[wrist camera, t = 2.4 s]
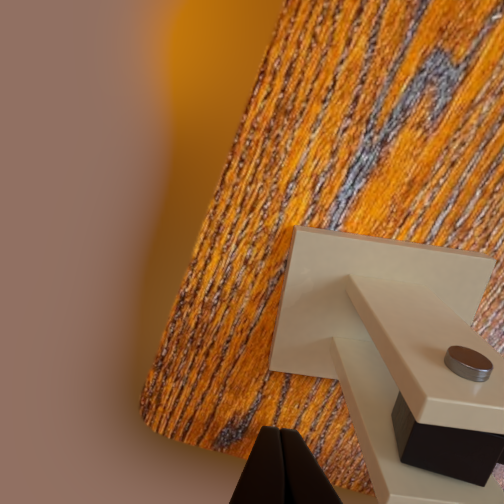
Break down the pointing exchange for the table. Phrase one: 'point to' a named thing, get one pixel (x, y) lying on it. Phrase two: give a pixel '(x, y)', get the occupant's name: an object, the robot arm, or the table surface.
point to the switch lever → (446, 447)
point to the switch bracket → (393, 347)
